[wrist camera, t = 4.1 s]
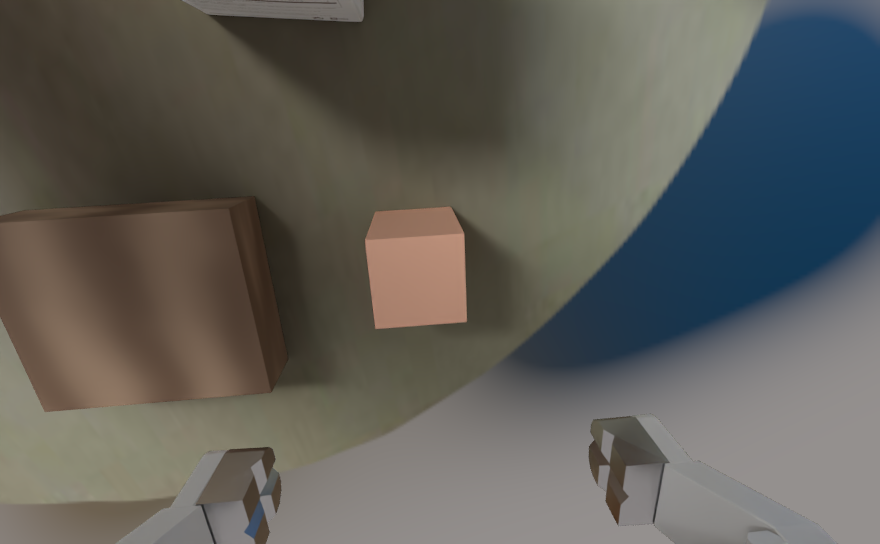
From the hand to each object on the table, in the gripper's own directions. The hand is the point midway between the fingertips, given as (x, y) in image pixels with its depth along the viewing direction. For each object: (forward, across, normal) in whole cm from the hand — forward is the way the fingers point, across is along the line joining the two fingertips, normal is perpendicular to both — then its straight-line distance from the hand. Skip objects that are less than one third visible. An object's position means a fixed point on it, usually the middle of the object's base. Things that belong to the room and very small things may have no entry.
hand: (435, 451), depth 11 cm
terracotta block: (+19, 0, 0) cm, 19 cm away
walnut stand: (+18, +17, +2) cm, 25 cm away
